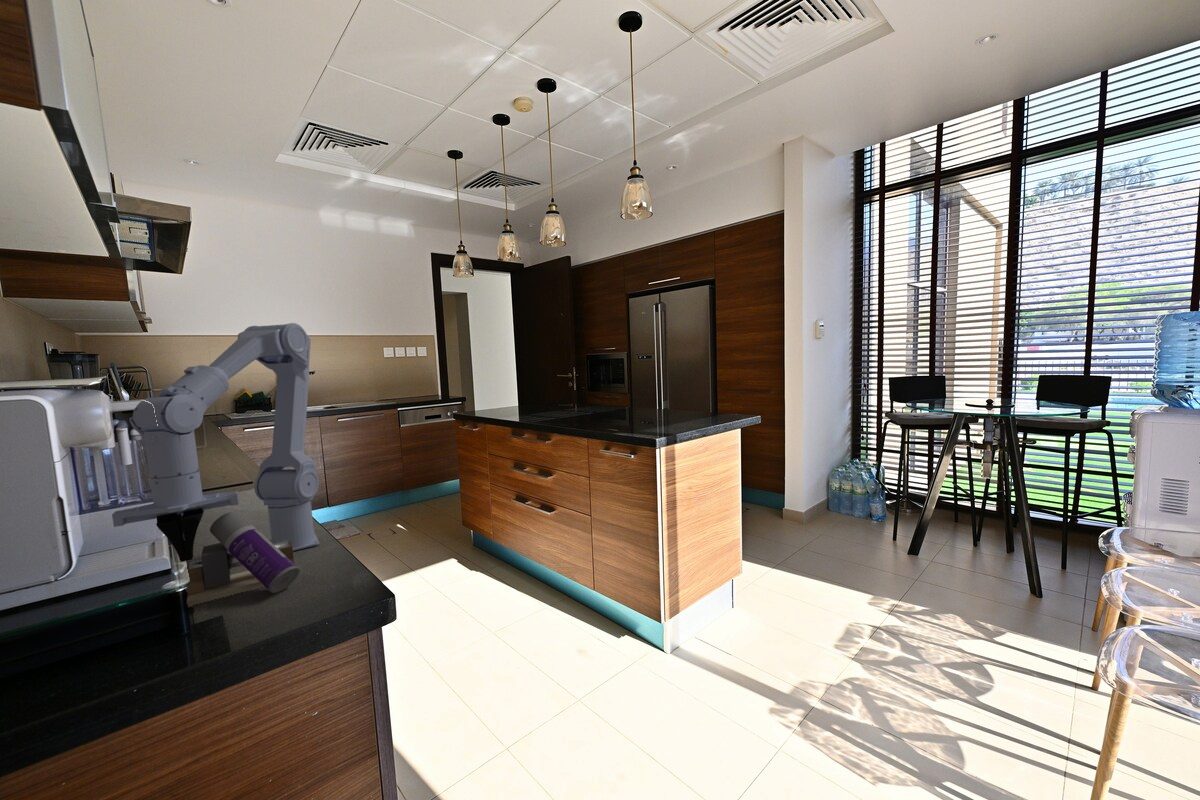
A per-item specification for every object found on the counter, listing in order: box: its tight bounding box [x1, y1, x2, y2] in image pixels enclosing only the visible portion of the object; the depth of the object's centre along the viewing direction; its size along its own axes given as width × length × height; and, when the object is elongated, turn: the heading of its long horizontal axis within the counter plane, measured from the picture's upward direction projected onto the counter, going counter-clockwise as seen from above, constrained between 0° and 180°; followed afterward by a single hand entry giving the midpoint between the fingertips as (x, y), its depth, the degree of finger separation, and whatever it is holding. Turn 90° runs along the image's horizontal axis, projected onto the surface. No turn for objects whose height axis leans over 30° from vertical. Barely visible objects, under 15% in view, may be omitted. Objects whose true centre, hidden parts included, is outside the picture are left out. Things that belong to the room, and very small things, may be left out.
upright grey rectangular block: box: [200, 542, 231, 588], centre depth 77 cm, size 5×3×5 cm, turn 37°
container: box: [209, 511, 301, 594], centre depth 77 cm, size 5×5×15 cm
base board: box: [186, 541, 295, 608], centre depth 79 cm, size 7×14×5 cm, turn 127°
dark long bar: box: [188, 540, 288, 575], centre depth 79 cm, size 3×13×3 cm, turn 127°
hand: (186, 559), depth 75 cm, fingers closed
